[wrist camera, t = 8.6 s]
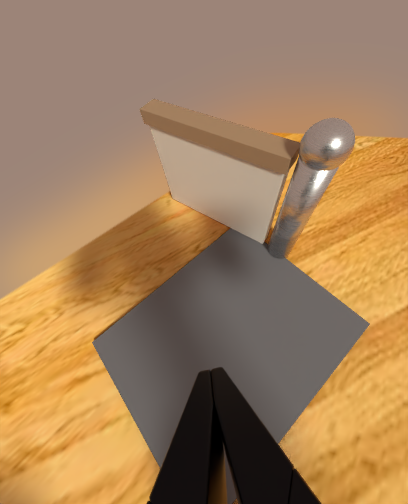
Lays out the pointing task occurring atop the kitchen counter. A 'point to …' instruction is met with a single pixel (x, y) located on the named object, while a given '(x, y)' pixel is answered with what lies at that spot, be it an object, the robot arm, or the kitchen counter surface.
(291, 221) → the gate post
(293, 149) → the panel
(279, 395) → the mat
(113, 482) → the kitchen counter surface
